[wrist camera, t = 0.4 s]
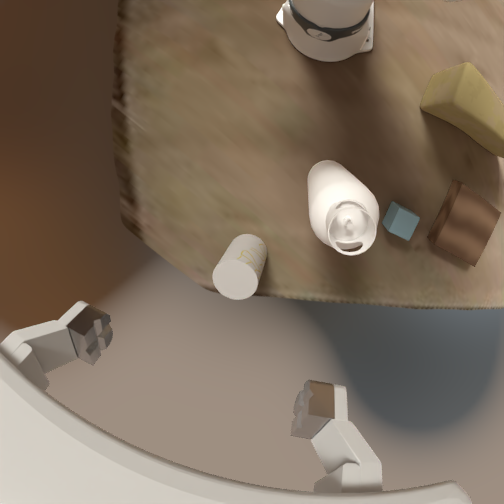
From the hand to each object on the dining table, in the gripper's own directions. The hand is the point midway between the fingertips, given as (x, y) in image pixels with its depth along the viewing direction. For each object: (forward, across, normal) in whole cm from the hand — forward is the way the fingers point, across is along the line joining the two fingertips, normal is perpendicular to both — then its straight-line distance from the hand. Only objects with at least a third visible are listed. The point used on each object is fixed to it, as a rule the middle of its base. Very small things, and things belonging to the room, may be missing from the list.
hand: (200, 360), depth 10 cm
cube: (+46, -24, +2) cm, 52 cm away
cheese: (+46, -33, -24) cm, 61 cm away
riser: (+45, -40, -3) cm, 61 cm away
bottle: (+46, -8, -1) cm, 46 cm away
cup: (+46, +4, +18) cm, 49 cm away
